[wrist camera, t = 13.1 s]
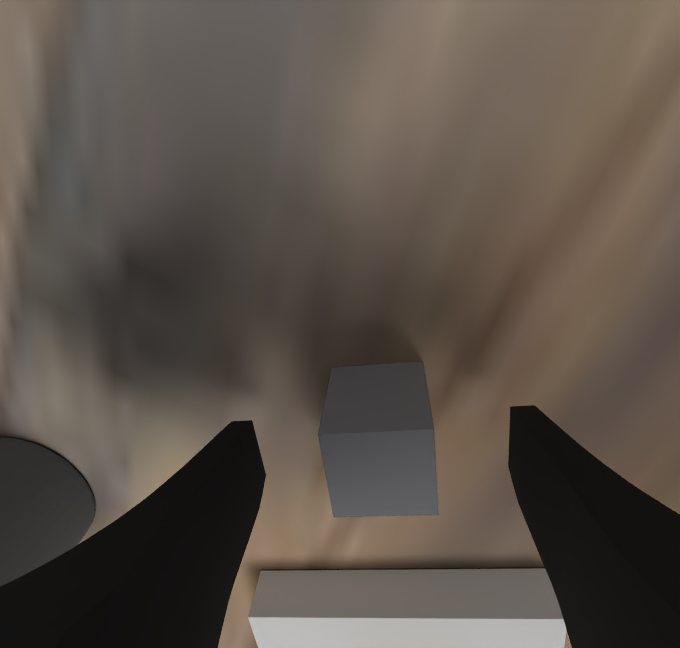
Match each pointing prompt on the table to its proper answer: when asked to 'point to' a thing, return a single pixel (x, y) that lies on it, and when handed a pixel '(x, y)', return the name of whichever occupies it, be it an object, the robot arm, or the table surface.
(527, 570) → the white layered base plate
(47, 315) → the table surface
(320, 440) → the cover
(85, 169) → the table surface
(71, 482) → the bottle
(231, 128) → the table surface
